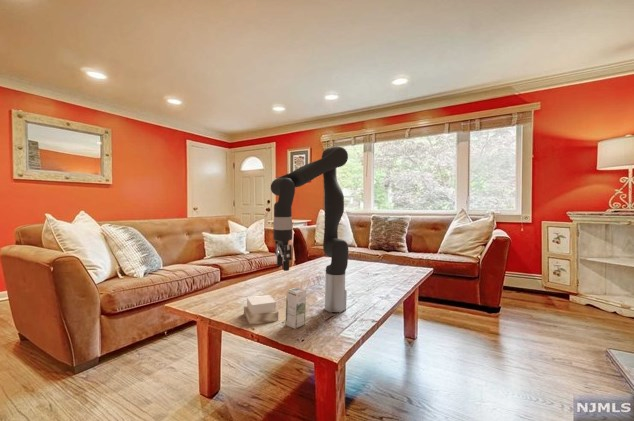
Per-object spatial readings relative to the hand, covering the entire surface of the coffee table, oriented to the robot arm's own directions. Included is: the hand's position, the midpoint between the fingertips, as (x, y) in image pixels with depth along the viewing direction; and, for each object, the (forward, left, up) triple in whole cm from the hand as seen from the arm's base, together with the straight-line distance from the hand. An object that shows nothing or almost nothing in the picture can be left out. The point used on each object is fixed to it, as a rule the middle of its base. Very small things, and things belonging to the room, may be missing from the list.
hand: (282, 268), depth 114 cm
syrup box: (-5, +3, -23) cm, 24 cm away
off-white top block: (+6, -11, -20) cm, 23 cm away
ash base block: (+6, -10, -24) cm, 27 cm away
